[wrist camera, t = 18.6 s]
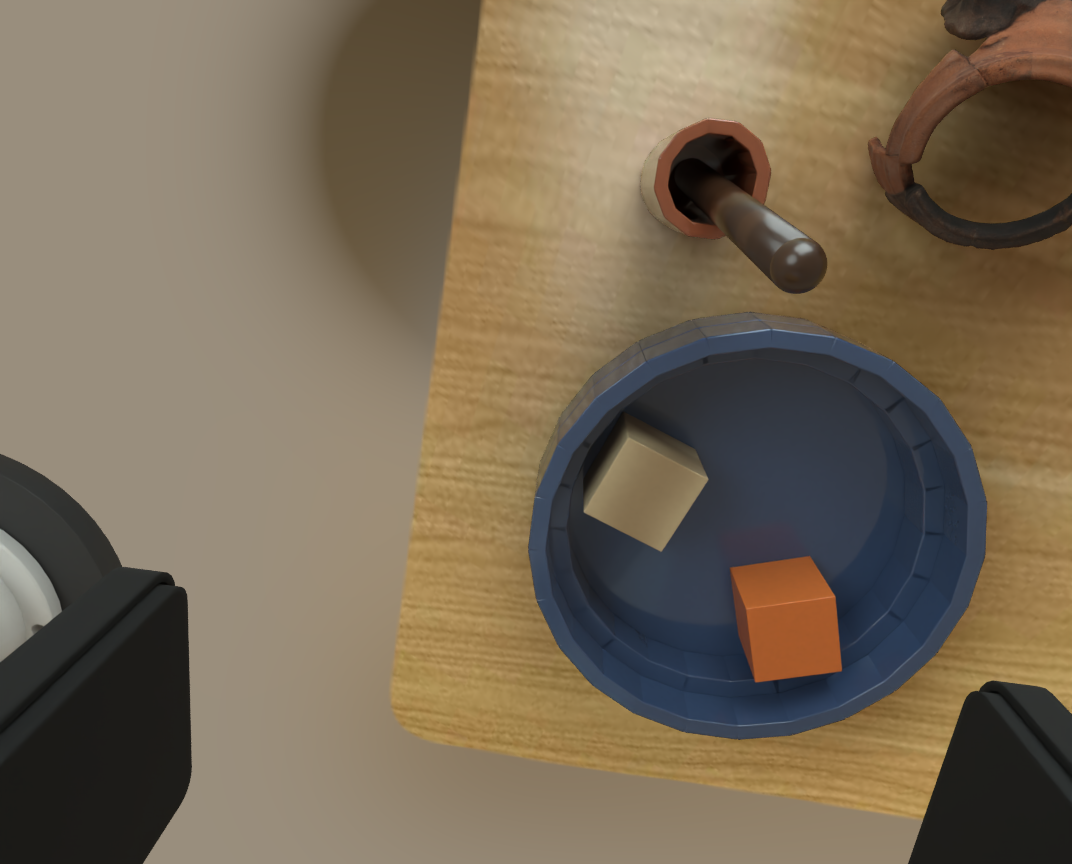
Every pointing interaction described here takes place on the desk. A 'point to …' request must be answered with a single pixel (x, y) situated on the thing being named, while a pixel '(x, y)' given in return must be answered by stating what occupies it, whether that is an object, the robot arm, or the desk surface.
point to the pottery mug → (1006, 55)
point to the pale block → (643, 482)
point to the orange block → (786, 619)
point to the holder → (719, 149)
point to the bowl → (761, 523)
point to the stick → (754, 228)
